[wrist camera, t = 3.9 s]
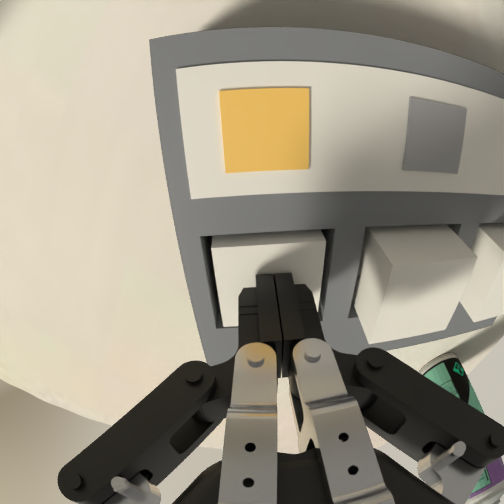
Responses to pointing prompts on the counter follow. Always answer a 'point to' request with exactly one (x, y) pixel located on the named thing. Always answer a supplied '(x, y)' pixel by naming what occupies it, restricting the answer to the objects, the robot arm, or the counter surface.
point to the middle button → (410, 280)
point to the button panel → (322, 154)
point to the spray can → (456, 382)
